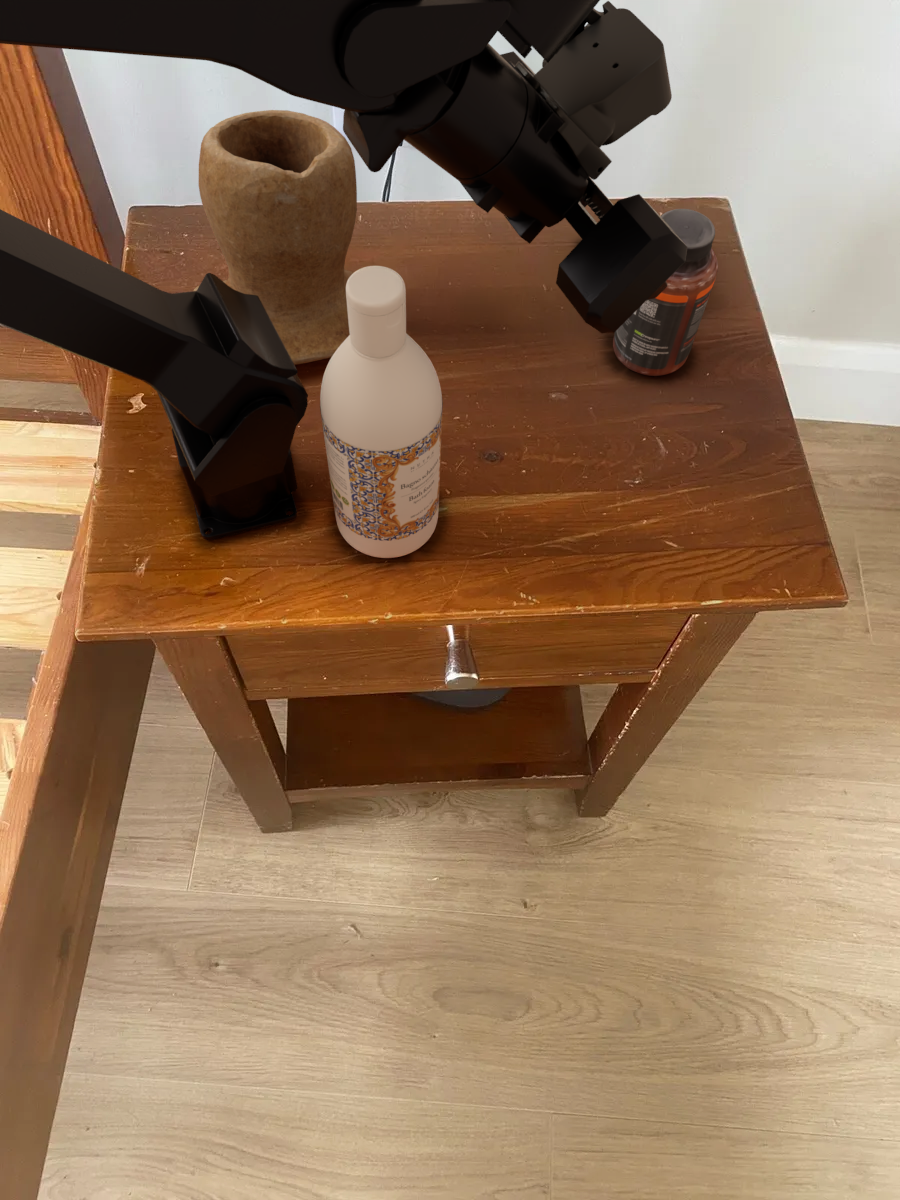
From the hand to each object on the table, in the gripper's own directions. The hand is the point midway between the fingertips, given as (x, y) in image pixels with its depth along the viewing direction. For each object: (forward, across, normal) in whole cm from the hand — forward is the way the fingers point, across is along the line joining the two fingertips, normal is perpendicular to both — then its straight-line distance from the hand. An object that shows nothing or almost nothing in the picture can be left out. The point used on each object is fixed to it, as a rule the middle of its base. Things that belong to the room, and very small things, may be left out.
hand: (622, 244), depth 57 cm
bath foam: (-6, -6, +22) cm, 24 cm away
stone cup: (-6, +14, +22) cm, 27 cm away
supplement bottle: (+12, 0, +5) cm, 13 cm away
